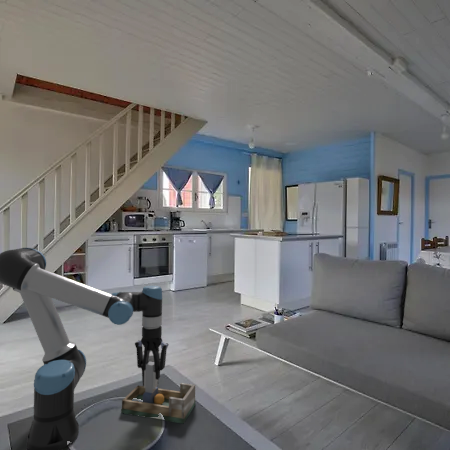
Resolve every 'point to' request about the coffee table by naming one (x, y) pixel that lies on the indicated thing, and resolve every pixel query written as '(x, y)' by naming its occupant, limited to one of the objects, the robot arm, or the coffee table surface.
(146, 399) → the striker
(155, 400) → the ball
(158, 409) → the wooden tray
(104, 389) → the coffee table surface
